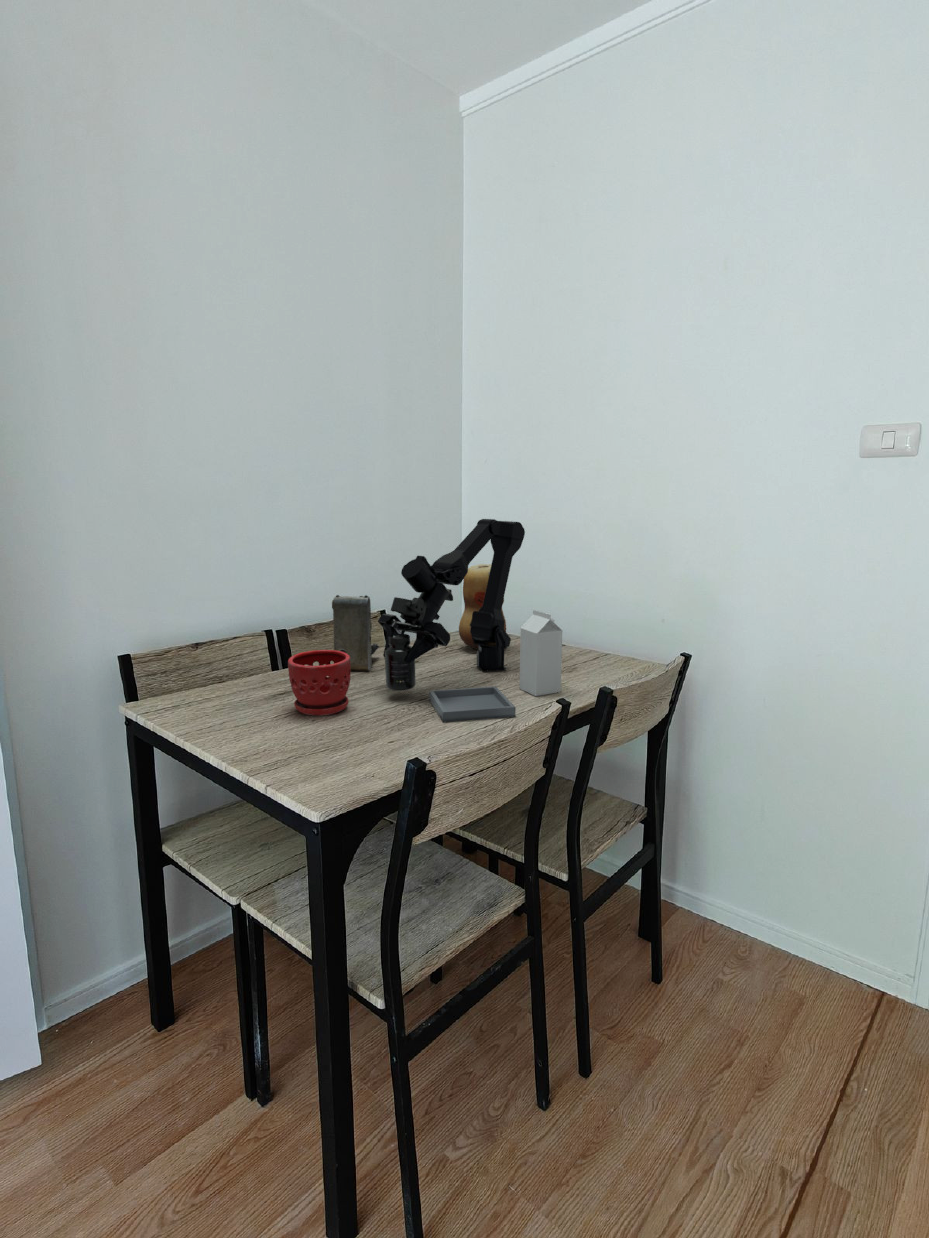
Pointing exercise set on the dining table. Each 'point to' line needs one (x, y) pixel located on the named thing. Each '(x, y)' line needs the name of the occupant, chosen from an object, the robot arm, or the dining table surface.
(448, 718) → the charcoal tray
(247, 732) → the dining table surface
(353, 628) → the vintage camera
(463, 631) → the butternut squash
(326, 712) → the plant pot
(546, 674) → the milk carton
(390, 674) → the supplement bottle
